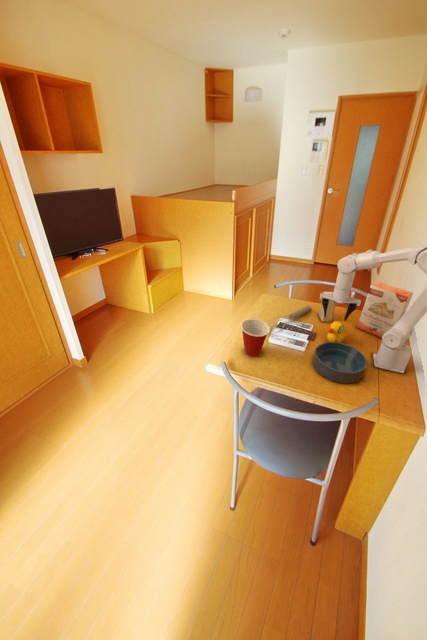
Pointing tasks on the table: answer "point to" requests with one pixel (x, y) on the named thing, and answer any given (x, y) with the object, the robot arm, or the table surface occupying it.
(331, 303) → the cosmetic box
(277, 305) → the table surface
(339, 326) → the duckling
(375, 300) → the cracker box
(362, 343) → the table surface
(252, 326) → the plastic cup
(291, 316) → the kitchen whisk
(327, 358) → the bowl
